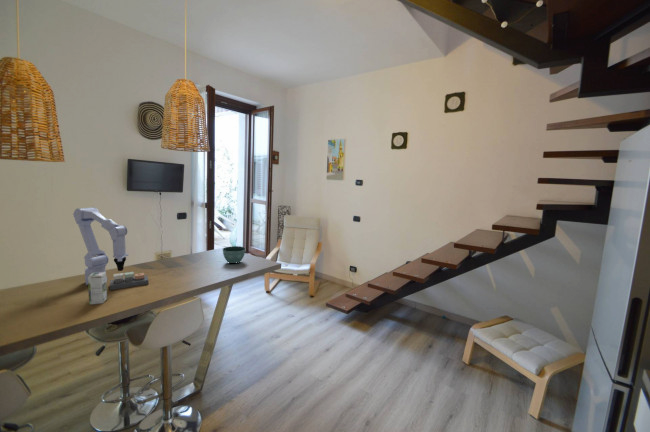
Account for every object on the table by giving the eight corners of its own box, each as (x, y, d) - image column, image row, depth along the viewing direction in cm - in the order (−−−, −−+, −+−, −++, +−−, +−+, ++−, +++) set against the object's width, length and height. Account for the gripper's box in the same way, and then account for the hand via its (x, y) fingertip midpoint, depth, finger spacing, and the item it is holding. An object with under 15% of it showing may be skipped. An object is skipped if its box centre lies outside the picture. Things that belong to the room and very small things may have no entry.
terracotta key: (135, 283, 164) (135, 276, 163) (135, 281, 167) (134, 274, 167) (144, 282, 166) (144, 275, 166) (144, 280, 170) (143, 272, 169)
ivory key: (114, 284, 158) (113, 276, 157) (114, 282, 161) (113, 274, 161) (123, 283, 160) (123, 275, 160) (123, 280, 164) (123, 273, 163)
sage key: (124, 282, 161) (124, 275, 160) (124, 280, 164) (124, 272, 164) (134, 281, 163) (133, 273, 163) (133, 279, 167) (133, 271, 166)
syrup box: (93, 300, 142) (91, 272, 140) (108, 298, 144) (106, 271, 142) (89, 304, 137) (86, 276, 135) (103, 303, 139) (101, 275, 137)
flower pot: (247, 259, 221) (247, 246, 219) (242, 266, 205) (242, 251, 203) (226, 259, 220) (226, 245, 218) (220, 265, 204) (219, 251, 202)
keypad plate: (110, 290, 155) (109, 285, 155) (110, 284, 163) (110, 280, 163) (148, 284, 165) (148, 279, 165) (147, 278, 173) (147, 275, 173)
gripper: (128, 249, 156) (129, 273, 157) (127, 244, 167) (128, 266, 169) (112, 250, 152) (113, 275, 153) (112, 245, 163) (114, 267, 165)
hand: (120, 270), depth 161 cm, fingers closed
